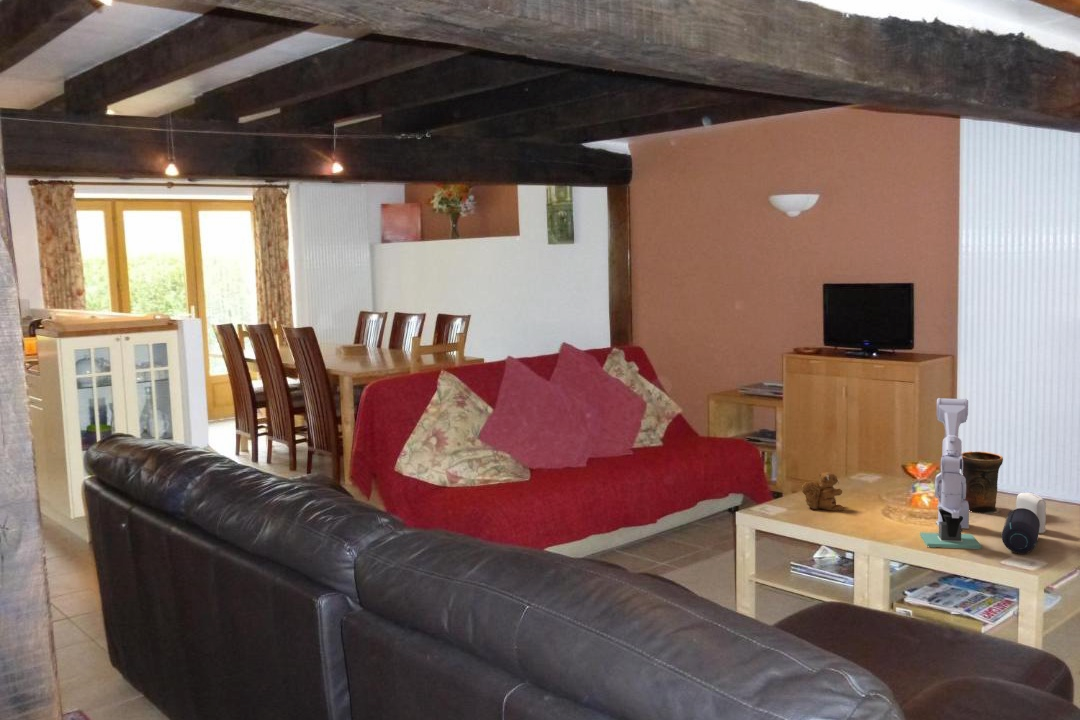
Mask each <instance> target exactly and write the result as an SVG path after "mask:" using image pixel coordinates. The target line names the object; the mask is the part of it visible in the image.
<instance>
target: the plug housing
mask: <svg viewBox="0 0 1080 720" xmlns="http://www.w3.org/2000/svg"><path fill="white" fill-rule="evenodd" d="M961 527H962V526H961V524H960V525H959V528H958V531H957V535H956V537H949V536H948V531H947V524H946V522H939V526H938V533H939V538H940V539H941V540H951V541H961V534H962V528H961Z"/></svg>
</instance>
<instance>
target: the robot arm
mask: <svg viewBox="0 0 1080 720" xmlns="http://www.w3.org/2000/svg"><path fill="white" fill-rule="evenodd" d="M968 416H969V400H968V399H967V398H943V397H942V398H941V397H938V398H937V399H936V419H937V422H939V423H942V424H943V427H944V438H943V439H942V446H941V447H942V451H941V454H942V455H941V457H940V472H939V473H937V474H936V475H935V479H934V480H935V481H934V497H935V499H937V501H938V504H937V506H936V507H937V509H938V512H937V513H938V514H937V515H938V516H937V520H938V521H936V522H935V524H936V523H937V524H936V525H937V526H938V527H939V522H946V524H947V531H948V536H949V537H956V535H957V531H958V528H959V525H960V524H961V526H962V527H961V529H966V530H967V529H970V527H969V526H970V524H969V523H970V522H969V521H970V511H969V504H968V501H966V500H964V499H966V479H965V477H964V476H963V458H962V453H963V452H962V446H963V445H962V442H963V441H962V439H961V438H959V430H960V426H961V424H964V423H966V422H967V421H968ZM960 471H961V472H960Z"/></svg>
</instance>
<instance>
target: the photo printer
mask: <svg viewBox="0 0 1080 720" xmlns="http://www.w3.org/2000/svg"><path fill="white" fill-rule="evenodd" d="M1015 505H1016V506H1015V507H1016V508H1015V509H1018V508H1024V509H1028V510H1031V511H1032V512H1033V513H1035V514H1036V516H1037V517H1038V519H1039V522H1040V528H1039V534H1044V533H1045V532H1046V512H1047V511H1046V508H1047V503H1046V500H1045V499H1044V498H1043V497H1041V496H1040V495H1038V494H1035V493H1032V492H1020V493H1019V494H1017V497H1016V504H1015Z"/></svg>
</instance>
